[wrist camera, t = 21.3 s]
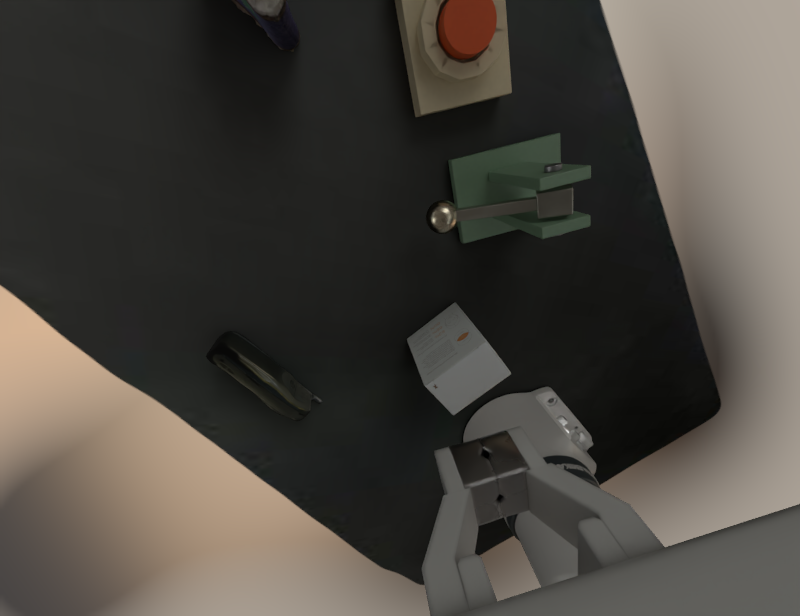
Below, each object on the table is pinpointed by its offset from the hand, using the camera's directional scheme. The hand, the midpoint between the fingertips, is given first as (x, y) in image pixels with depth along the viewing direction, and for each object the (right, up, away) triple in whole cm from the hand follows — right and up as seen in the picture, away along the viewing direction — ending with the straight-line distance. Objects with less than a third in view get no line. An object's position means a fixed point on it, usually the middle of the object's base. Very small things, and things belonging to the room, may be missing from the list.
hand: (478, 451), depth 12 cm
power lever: (+7, +15, +22) cm, 27 cm away
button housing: (+2, +30, +22) cm, 37 cm away
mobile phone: (-19, -3, +33) cm, 38 cm away
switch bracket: (+9, +18, +28) cm, 35 cm away
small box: (+3, +1, +34) cm, 35 cm away
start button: (+3, +28, +18) cm, 33 cm away
